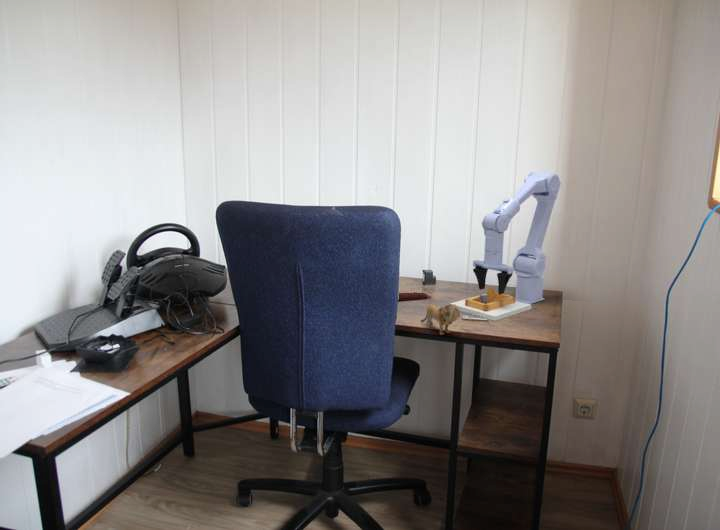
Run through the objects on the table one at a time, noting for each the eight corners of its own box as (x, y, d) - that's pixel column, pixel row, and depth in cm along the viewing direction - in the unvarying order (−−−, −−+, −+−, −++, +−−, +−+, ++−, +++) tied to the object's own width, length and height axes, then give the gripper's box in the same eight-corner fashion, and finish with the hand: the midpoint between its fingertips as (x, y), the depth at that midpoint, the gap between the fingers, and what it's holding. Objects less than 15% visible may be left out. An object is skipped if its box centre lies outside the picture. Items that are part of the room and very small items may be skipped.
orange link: (494, 297, 185) (495, 281, 183) (515, 302, 178) (516, 286, 177) (465, 305, 174) (465, 289, 173) (486, 311, 168) (487, 294, 167)
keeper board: (486, 297, 190) (487, 282, 189) (531, 309, 177) (532, 293, 175) (449, 307, 177) (450, 292, 176) (494, 321, 164) (496, 304, 163)
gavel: (426, 286, 193) (438, 293, 184) (424, 298, 194) (436, 306, 185) (371, 286, 187) (380, 294, 178) (370, 299, 188) (379, 307, 178)
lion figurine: (463, 334, 152) (464, 304, 150) (450, 338, 148) (451, 307, 147) (426, 321, 163) (427, 293, 161) (413, 325, 160) (414, 296, 158)
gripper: (467, 248, 176) (466, 288, 178) (505, 255, 165) (502, 298, 168) (481, 246, 180) (479, 285, 183) (518, 252, 169) (515, 294, 172)
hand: (491, 291), depth 176 cm, fingers open, 7 cm apart
